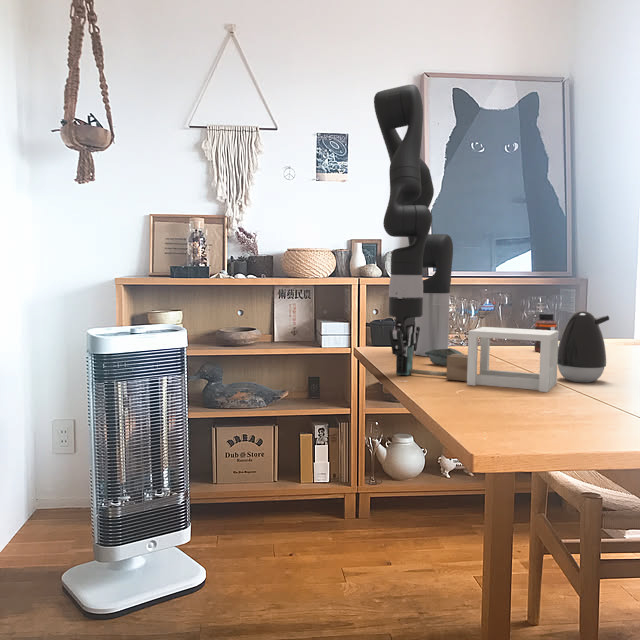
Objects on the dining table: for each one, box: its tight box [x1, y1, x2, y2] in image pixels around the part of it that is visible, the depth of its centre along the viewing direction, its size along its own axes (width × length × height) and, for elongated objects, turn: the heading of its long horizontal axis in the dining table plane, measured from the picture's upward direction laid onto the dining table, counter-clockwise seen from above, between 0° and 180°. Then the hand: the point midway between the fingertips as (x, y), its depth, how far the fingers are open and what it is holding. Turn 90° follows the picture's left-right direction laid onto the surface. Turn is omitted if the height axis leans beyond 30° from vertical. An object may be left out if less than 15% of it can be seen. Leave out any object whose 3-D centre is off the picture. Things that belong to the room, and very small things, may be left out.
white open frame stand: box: [466, 326, 560, 393], centre depth 146 cm, size 12×16×11 cm
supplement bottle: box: [534, 312, 558, 353], centre depth 205 cm, size 6×6×11 cm
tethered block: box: [395, 347, 468, 382], centre depth 154 cm, size 5×17×6 cm, turn 63°
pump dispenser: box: [557, 310, 610, 383], centre depth 152 cm, size 10×10×15 cm
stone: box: [425, 347, 465, 367], centre depth 174 cm, size 11×4×10 cm
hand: (404, 371), depth 157 cm, fingers closed on tethered block, 3 cm apart
